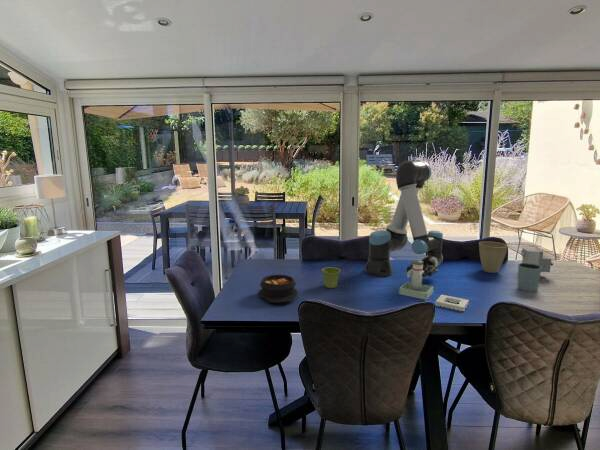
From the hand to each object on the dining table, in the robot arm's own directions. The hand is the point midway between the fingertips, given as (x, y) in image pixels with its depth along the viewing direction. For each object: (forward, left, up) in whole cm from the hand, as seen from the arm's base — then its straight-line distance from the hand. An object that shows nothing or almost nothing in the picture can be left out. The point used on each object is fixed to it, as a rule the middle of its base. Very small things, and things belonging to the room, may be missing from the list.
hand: (413, 275), depth 183 cm
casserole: (-53, -36, -11) cm, 65 cm away
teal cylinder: (+44, +44, -11) cm, 63 cm away
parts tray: (0, +5, -10) cm, 12 cm away
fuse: (0, +5, -8) cm, 10 cm away
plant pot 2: (+24, +65, -11) cm, 70 cm away
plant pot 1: (-39, -10, -11) cm, 42 cm away
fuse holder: (+18, 0, -10) cm, 21 cm away
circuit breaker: (+46, +69, -11) cm, 84 cm away
